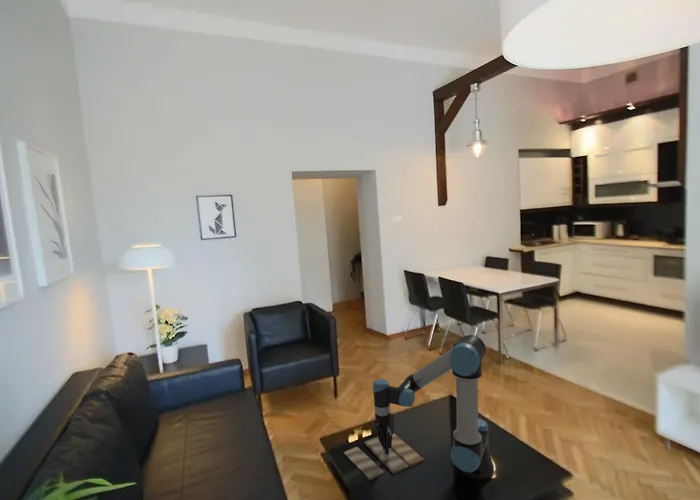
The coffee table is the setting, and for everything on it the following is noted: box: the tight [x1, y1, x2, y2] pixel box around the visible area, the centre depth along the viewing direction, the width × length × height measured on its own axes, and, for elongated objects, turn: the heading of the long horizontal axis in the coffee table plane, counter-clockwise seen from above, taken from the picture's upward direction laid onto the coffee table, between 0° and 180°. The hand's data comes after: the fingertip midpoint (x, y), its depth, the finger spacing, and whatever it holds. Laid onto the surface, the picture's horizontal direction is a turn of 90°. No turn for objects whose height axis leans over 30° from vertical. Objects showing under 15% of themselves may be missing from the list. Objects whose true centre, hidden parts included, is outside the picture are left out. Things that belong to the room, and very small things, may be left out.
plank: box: [343, 446, 385, 481], centre depth 182 cm, size 24×8×1 cm, turn 31°
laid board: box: [390, 432, 425, 468], centre depth 190 cm, size 28×8×1 cm, turn 27°
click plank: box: [364, 436, 409, 475], centre depth 186 cm, size 28×8×1 cm, turn 27°
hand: (386, 459), depth 180 cm, fingers closed
